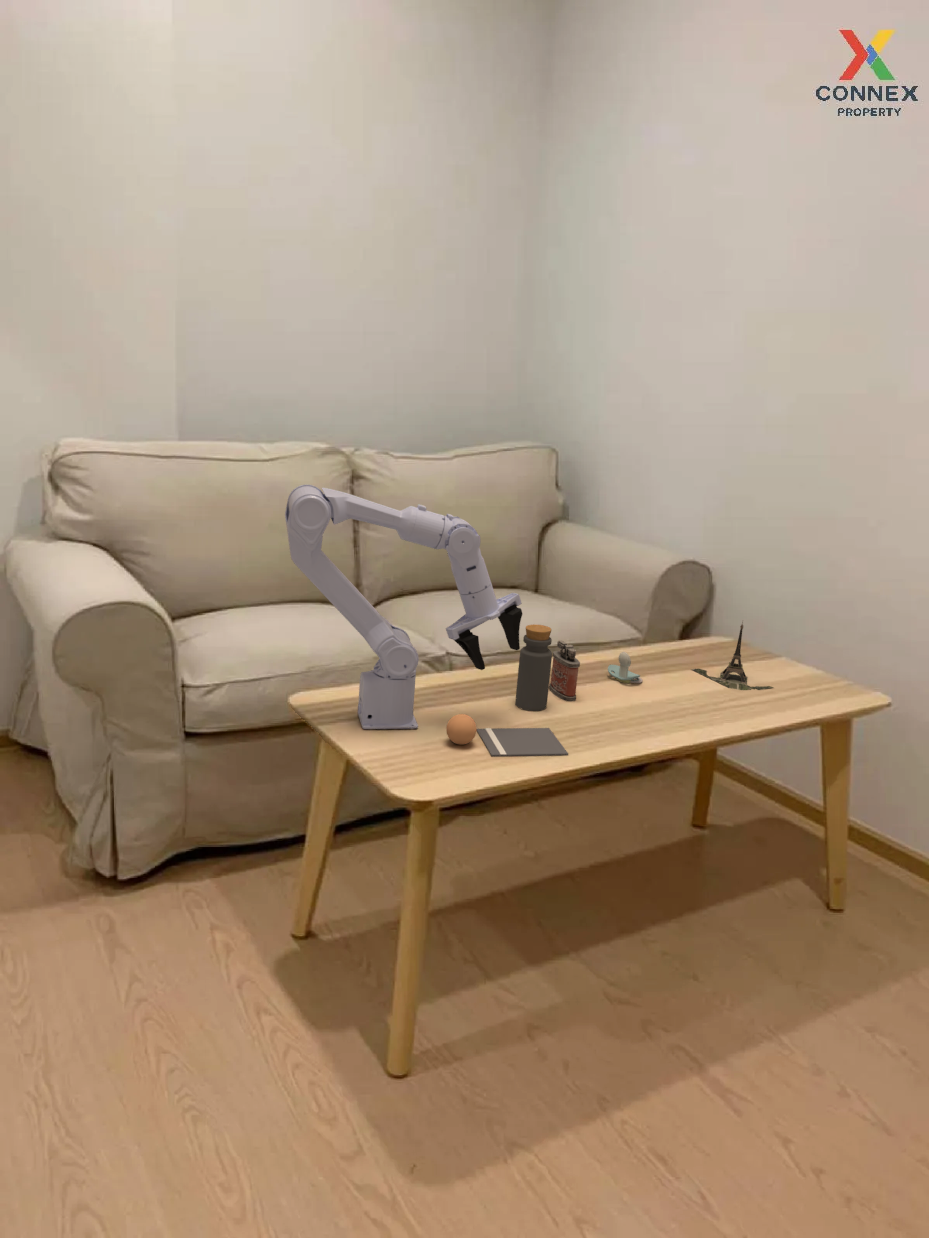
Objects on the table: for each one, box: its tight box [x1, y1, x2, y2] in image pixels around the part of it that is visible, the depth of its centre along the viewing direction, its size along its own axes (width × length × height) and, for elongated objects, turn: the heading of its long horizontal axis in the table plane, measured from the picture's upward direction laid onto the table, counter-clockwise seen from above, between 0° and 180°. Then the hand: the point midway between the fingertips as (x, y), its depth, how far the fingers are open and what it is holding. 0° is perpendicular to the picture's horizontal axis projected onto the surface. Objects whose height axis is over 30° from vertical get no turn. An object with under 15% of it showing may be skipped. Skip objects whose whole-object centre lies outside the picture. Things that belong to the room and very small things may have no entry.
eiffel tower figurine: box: [690, 621, 774, 691], centre depth 211 cm, size 15×10×13 cm
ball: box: [445, 713, 478, 746], centre depth 168 cm, size 5×5×5 cm
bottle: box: [514, 623, 553, 712], centre depth 186 cm, size 6×6×15 cm
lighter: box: [548, 639, 581, 702], centre depth 194 cm, size 8×3×10 cm, turn 22°
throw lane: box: [476, 727, 569, 757], centre depth 171 cm, size 13×11×1 cm
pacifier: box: [607, 651, 643, 684], centre depth 206 cm, size 7×6×6 cm
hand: (498, 658), depth 176 cm, fingers open, 7 cm apart
